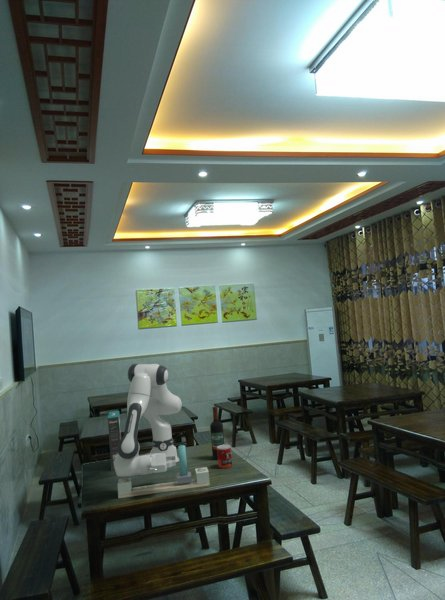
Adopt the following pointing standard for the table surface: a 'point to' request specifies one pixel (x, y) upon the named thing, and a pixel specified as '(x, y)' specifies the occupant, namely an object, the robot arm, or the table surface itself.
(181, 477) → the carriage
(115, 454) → the cake mix box
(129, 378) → the robot arm
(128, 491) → the rail board
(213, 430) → the wine bottle
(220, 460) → the canned food
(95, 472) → the table surface
